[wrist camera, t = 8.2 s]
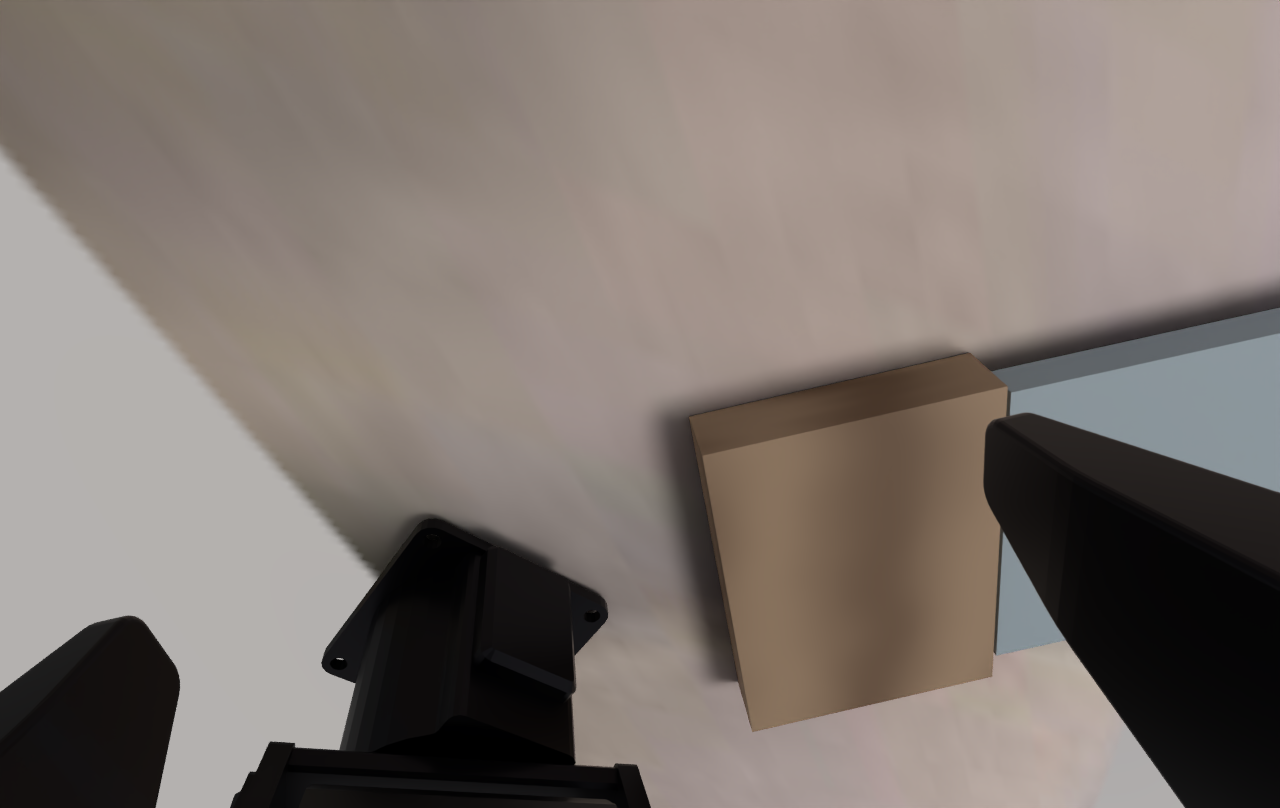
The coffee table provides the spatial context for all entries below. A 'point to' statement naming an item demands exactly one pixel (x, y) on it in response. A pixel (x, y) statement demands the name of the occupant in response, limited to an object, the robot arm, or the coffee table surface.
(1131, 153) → the coffee table surface
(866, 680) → the block
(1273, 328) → the panel
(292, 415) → the coffee table surface
